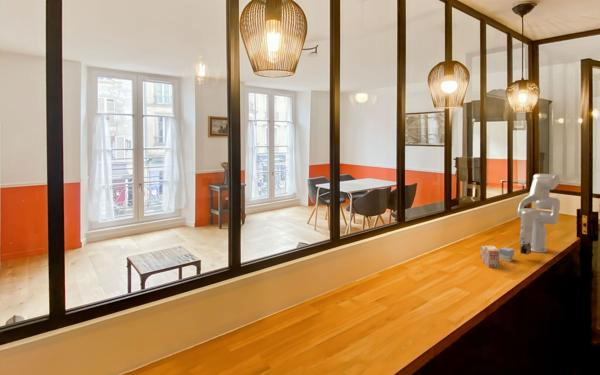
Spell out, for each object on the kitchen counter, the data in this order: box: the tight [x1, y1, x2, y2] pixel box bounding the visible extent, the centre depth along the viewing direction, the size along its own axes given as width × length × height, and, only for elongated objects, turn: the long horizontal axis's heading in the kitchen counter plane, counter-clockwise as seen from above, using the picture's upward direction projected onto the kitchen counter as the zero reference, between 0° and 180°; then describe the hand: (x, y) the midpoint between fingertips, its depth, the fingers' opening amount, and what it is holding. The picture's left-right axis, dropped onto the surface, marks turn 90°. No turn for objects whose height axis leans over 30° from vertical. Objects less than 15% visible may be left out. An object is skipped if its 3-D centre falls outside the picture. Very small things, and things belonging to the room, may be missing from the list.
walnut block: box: [519, 243, 532, 256], centre depth 275 cm, size 5×5×6 cm
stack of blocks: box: [480, 245, 500, 269], centre depth 268 cm, size 21×6×12 cm, turn 169°
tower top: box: [498, 246, 515, 257], centre depth 275 cm, size 7×7×4 cm
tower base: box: [499, 254, 515, 263], centre depth 276 cm, size 7×7×4 cm
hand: (525, 252), depth 275 cm, fingers closed on walnut block, 5 cm apart
